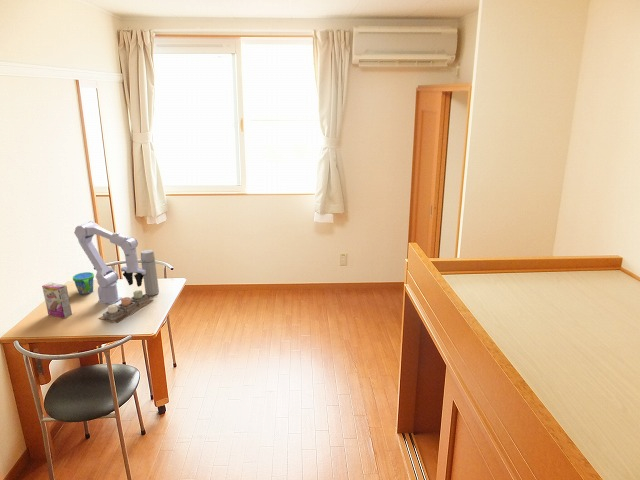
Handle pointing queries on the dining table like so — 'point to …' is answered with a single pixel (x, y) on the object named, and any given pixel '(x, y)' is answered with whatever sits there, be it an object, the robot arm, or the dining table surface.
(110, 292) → the robot arm
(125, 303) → the terracotta button
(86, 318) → the dining table surface
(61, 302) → the candy bar box
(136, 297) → the sage button
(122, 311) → the button board
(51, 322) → the dining table surface
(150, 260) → the water bottle
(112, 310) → the cream button
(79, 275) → the snack cup
